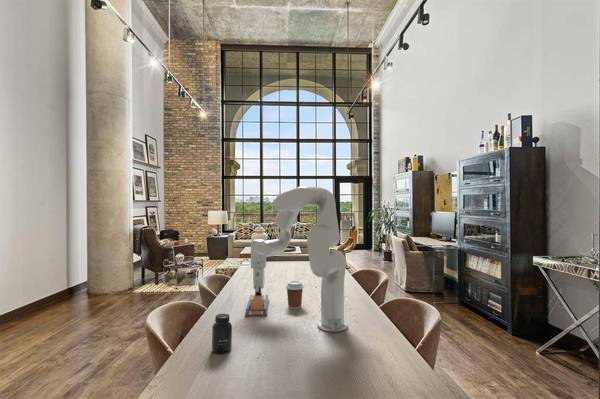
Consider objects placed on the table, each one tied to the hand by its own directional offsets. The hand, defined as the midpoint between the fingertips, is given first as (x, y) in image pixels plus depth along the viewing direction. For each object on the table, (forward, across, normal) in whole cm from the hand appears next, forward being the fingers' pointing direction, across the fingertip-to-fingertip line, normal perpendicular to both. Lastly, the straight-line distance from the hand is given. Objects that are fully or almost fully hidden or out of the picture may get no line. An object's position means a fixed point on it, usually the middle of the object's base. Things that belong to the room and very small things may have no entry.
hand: (258, 301), depth 163 cm
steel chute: (+3, -3, 0) cm, 4 cm away
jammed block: (+1, -6, 0) cm, 6 cm away
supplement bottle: (+3, -47, +9) cm, 47 cm away
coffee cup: (+3, 0, -18) cm, 18 cm away
